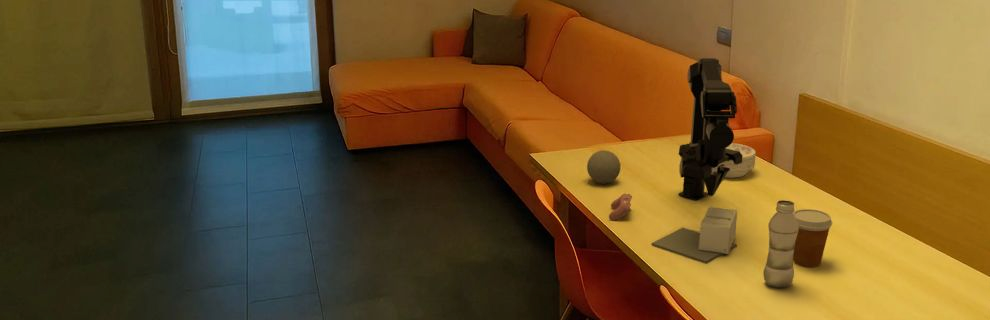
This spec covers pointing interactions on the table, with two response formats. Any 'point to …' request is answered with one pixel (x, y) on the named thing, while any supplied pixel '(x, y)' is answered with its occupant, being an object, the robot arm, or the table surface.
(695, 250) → the mat
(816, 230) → the disposable coffee cup
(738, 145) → the paper bowls
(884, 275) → the table surface
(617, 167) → the decorative ball
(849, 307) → the table surface
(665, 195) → the table surface
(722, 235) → the supplement box
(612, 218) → the video game controller
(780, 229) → the plastic bottle
